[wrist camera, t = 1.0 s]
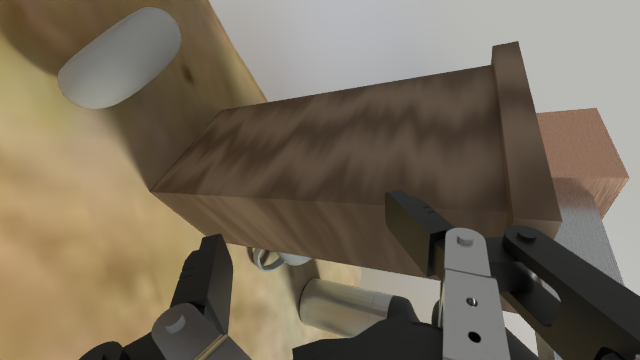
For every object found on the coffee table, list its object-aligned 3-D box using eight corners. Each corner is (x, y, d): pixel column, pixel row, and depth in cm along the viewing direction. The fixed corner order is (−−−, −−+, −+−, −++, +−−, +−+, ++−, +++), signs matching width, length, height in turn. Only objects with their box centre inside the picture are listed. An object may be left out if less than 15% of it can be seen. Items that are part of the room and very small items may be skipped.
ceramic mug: (272, 198, 45) (310, 201, 41) (292, 225, 50) (327, 230, 46) (239, 255, 38) (281, 264, 35) (266, 278, 44) (305, 289, 40)
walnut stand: (211, 250, 34) (518, 313, 19) (135, 193, 26) (562, 221, 11) (265, 162, 43) (501, 155, 28) (221, 99, 35) (518, 41, 20)
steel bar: (551, 507, 11) (693, 574, 10) (601, 547, 7) (863, 675, 6) (509, 171, 23) (570, 170, 21) (519, 114, 19) (596, 107, 17)
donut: (112, 19, 24) (180, -19, 19) (145, 54, 27) (212, 27, 22) (22, 91, 19) (82, 63, 14) (72, 125, 22) (138, 110, 17)
